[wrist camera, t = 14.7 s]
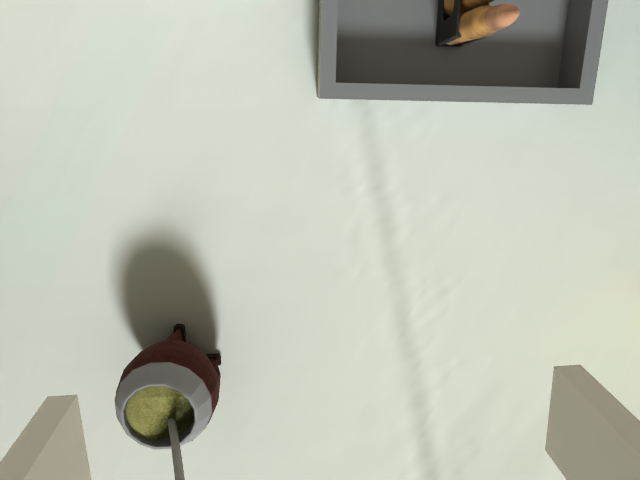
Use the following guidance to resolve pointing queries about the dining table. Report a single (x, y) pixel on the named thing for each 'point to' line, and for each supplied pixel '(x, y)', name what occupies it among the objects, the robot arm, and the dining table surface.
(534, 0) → the tray
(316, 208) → the dining table surface
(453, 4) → the ammunition clip
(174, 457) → the mate gourd
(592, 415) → the robot arm
